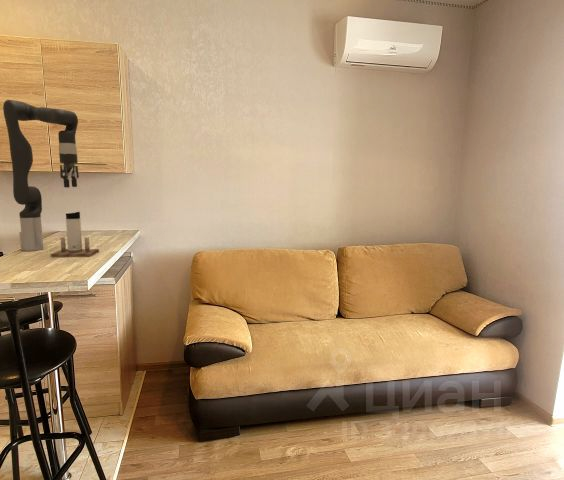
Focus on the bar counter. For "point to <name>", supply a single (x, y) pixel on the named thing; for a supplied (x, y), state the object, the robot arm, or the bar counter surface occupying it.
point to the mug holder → (84, 253)
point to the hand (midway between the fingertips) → (70, 187)
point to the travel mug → (74, 232)
